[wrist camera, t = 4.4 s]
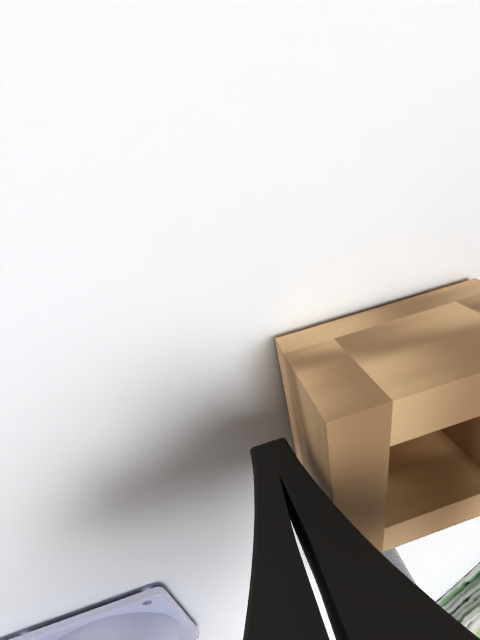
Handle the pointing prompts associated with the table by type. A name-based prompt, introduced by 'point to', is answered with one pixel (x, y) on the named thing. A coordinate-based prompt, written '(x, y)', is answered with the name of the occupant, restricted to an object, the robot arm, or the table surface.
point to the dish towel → (465, 601)
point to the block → (392, 412)
